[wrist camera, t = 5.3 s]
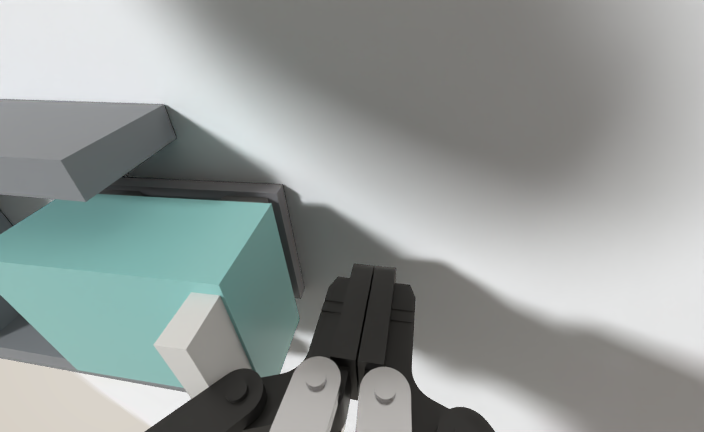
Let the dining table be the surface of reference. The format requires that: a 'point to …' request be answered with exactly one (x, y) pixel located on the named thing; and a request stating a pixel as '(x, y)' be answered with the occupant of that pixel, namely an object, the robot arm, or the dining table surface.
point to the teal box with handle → (160, 279)
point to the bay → (68, 179)
